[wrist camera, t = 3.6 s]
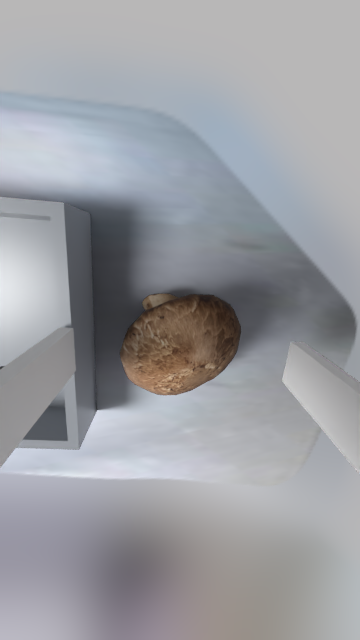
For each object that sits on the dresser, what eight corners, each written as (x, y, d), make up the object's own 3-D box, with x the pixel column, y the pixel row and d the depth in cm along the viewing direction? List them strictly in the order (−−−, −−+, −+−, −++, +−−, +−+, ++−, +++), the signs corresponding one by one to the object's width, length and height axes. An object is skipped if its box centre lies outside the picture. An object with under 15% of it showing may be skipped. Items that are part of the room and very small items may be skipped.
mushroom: (102, 268, 13) (133, 354, 10) (220, 254, 16) (280, 316, 12) (112, 352, 19) (133, 426, 15) (198, 330, 22) (234, 388, 18)
